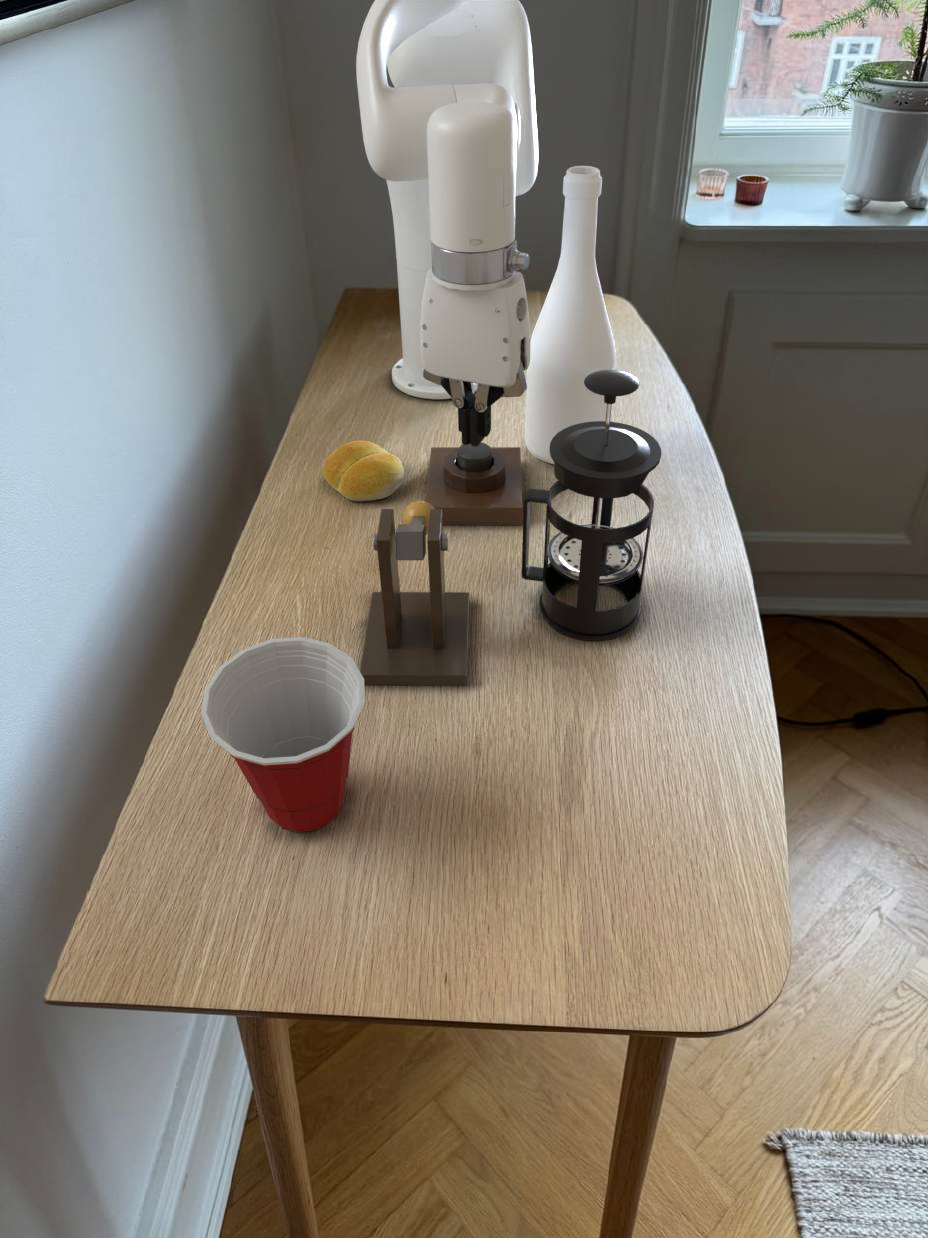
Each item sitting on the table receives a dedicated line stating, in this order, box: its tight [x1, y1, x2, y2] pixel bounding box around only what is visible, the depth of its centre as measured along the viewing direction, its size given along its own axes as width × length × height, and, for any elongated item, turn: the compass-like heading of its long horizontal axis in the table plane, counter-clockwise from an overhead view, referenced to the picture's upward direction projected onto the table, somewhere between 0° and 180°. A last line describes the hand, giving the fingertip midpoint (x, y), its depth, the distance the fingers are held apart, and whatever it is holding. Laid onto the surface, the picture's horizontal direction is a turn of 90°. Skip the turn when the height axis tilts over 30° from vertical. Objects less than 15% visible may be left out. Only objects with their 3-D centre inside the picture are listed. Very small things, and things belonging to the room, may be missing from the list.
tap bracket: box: [359, 508, 470, 686], centre depth 77 cm, size 11×9×13 cm
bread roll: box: [322, 440, 405, 502], centre depth 100 cm, size 8×9×4 cm
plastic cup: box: [200, 636, 365, 833], centre depth 64 cm, size 11×11×12 cm
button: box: [458, 442, 492, 472], centre depth 96 cm, size 4×4×2 cm
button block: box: [425, 446, 524, 526], centre depth 98 cm, size 12×10×4 cm
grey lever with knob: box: [395, 500, 435, 561], centre depth 79 cm, size 13×3×3 cm, turn 178°
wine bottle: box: [524, 165, 617, 465], centre depth 96 cm, size 10×10×30 cm
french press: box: [521, 369, 662, 642], centre depth 77 cm, size 12×9×23 cm
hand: (474, 439), depth 95 cm, fingers closed
